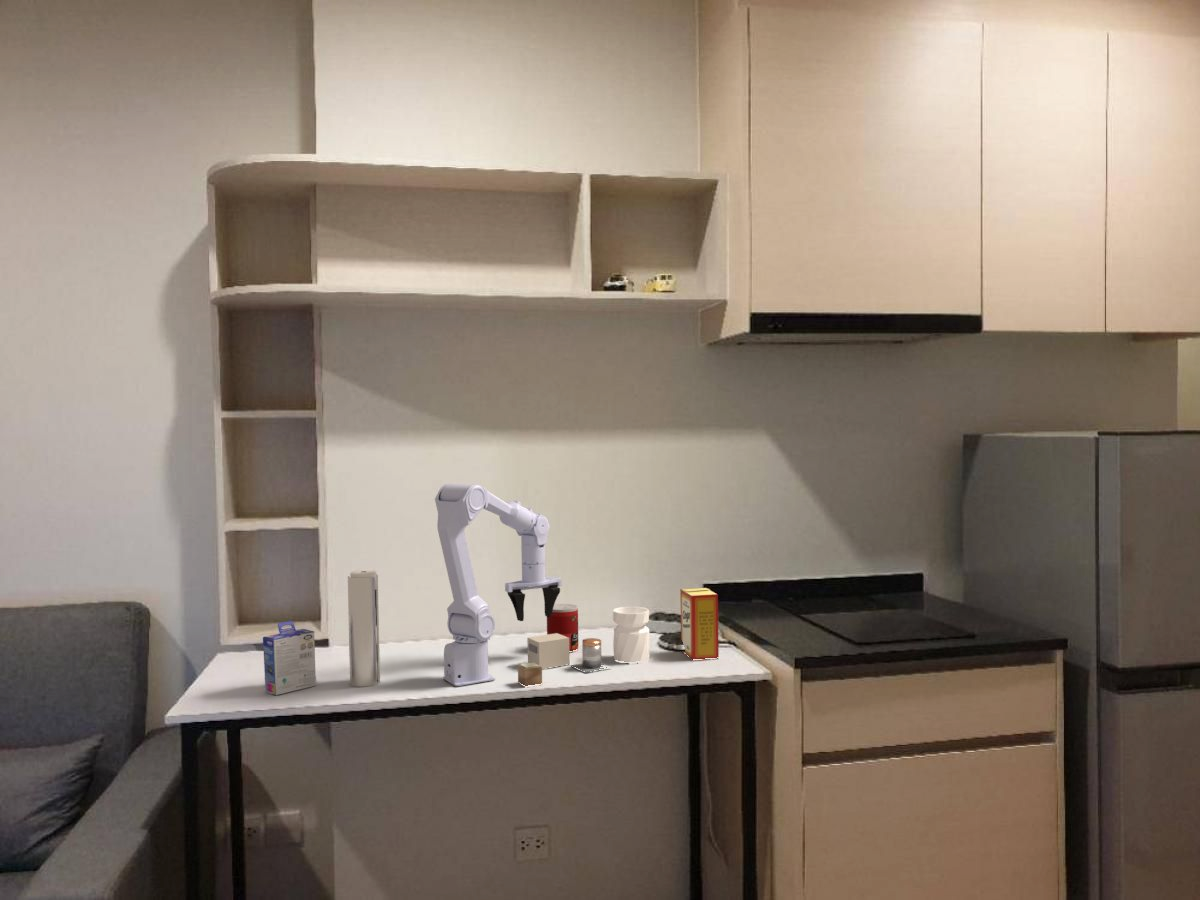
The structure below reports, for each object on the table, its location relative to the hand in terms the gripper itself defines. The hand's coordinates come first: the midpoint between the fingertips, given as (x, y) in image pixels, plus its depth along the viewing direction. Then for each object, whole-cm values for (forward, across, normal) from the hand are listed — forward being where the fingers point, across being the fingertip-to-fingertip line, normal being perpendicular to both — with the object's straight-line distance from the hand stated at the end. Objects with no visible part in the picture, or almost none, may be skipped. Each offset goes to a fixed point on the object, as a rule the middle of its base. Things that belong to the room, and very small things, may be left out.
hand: (534, 618), depth 217 cm
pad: (+10, -7, +15) cm, 19 cm away
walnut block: (+10, +11, +19) cm, 24 cm away
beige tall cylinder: (+10, +41, -3) cm, 42 cm away
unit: (+10, 0, +7) cm, 12 cm away
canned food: (+10, -10, -4) cm, 15 cm away
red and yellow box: (+10, -35, +20) cm, 42 cm away
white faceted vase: (+10, -19, +14) cm, 26 cm away
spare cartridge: (+9, -7, +15) cm, 19 cm away
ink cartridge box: (+10, +56, -8) cm, 57 cm away
